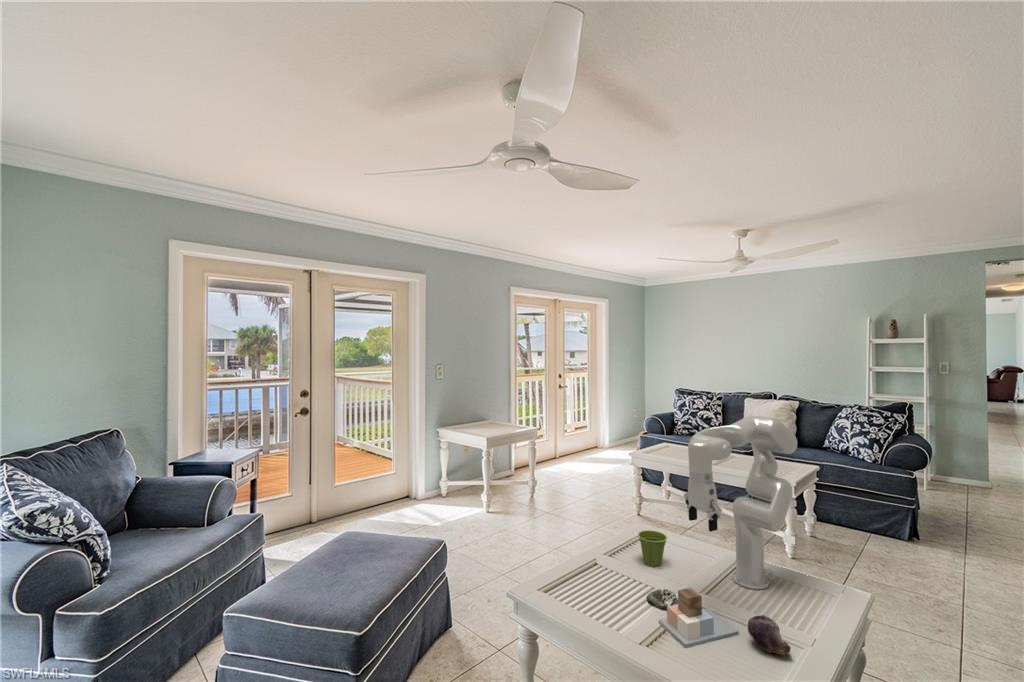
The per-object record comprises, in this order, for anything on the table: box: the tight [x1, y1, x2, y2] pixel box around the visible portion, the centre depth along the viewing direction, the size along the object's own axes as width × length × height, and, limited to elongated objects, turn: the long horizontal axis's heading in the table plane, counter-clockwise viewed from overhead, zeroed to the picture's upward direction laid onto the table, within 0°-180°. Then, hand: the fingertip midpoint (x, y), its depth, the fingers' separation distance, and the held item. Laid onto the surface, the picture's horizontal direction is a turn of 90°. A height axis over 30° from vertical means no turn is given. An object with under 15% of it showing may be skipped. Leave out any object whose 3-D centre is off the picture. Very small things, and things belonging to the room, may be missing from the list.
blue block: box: [695, 608, 714, 636], centre depth 144 cm, size 5×5×5 cm
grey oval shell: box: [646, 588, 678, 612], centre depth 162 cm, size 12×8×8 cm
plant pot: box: [637, 529, 668, 567], centre depth 191 cm, size 12×12×11 cm
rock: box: [747, 614, 791, 656], centre depth 137 cm, size 12×9×10 cm
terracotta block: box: [666, 604, 684, 630], centre depth 147 cm, size 5×5×5 cm
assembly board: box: [658, 608, 740, 649], centre depth 146 cm, size 20×13×1 cm, turn 108°
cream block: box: [677, 614, 700, 640], centre depth 142 cm, size 5×5×5 cm
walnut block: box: [677, 587, 703, 618], centre depth 146 cm, size 5×5×6 cm
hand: (702, 525), depth 160 cm, fingers open, 9 cm apart
